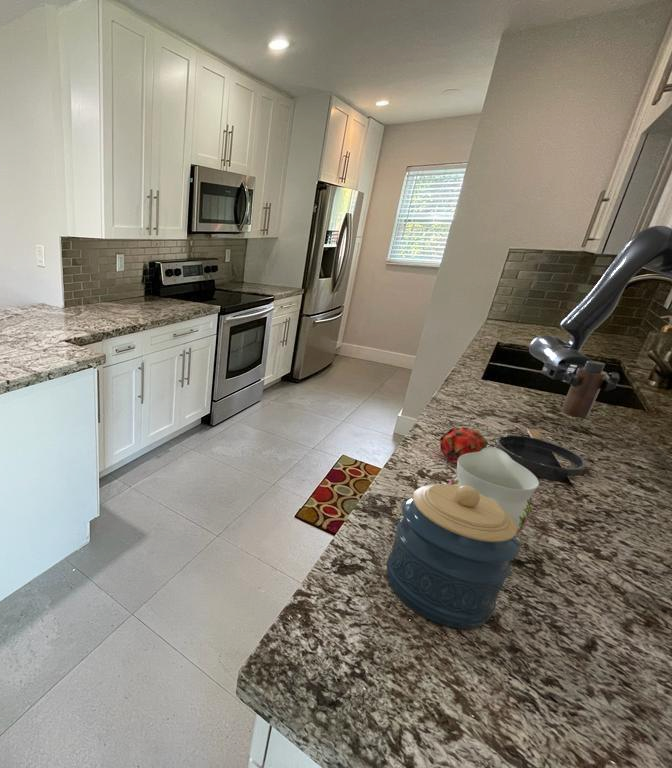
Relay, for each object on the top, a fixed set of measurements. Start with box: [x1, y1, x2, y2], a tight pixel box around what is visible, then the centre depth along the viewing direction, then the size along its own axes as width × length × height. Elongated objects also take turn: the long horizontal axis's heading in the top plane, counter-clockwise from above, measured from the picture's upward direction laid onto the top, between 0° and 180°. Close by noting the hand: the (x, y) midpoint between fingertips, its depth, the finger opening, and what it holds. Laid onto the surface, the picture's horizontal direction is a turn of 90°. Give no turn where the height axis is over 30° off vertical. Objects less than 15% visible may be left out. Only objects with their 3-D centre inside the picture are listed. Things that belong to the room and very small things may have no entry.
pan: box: [493, 434, 588, 482], centre depth 92 cm, size 15×15×4 cm
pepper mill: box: [560, 360, 608, 419], centre depth 96 cm, size 5×5×13 cm
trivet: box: [525, 427, 589, 441], centre depth 101 cm, size 12×12×1 cm
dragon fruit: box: [438, 426, 489, 464], centre depth 92 cm, size 8×8×12 cm
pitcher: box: [447, 446, 540, 538], centre depth 67 cm, size 11×18×14 cm, turn 144°
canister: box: [386, 483, 520, 630], centre depth 56 cm, size 13×13×18 cm
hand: (591, 384), depth 93 cm, fingers closed on pepper mill, 5 cm apart
